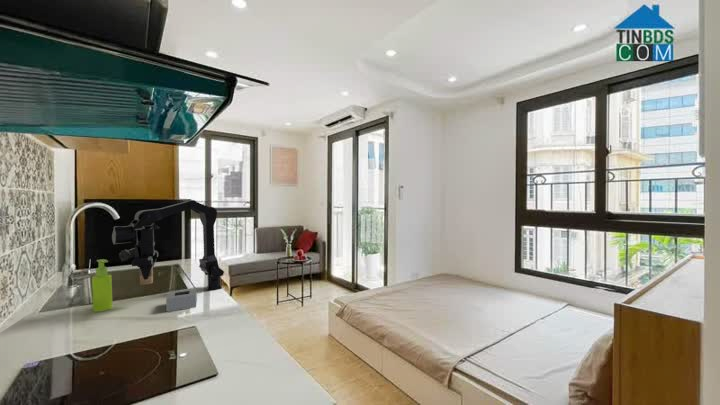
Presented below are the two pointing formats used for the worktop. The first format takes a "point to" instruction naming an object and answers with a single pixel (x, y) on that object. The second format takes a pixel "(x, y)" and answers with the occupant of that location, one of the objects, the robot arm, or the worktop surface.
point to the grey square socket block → (181, 299)
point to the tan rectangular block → (147, 281)
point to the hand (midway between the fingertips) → (146, 278)
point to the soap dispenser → (102, 288)
